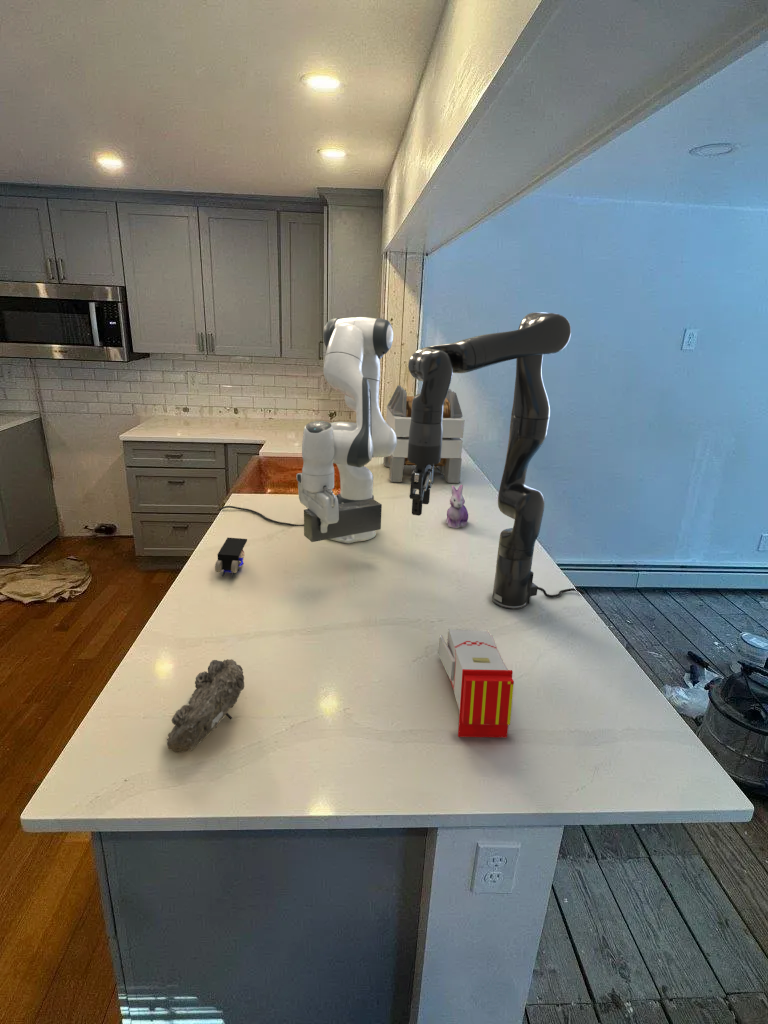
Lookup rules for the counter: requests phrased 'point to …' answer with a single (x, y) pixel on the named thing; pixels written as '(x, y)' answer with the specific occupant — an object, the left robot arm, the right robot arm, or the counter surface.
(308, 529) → the bar
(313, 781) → the counter surface
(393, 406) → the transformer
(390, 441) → the left robot arm
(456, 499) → the figurine
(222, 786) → the counter surface
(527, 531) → the right robot arm
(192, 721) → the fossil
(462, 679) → the toy
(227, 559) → the figurine character
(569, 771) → the counter surface
